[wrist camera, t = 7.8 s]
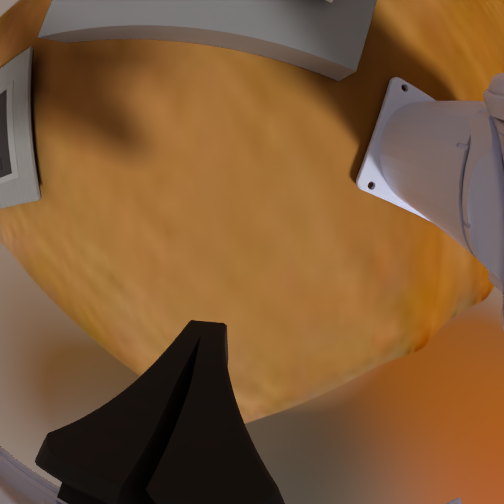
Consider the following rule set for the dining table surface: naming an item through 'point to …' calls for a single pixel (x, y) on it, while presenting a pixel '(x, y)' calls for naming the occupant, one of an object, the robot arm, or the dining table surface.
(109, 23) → the panel
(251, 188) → the dining table surface
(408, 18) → the dining table surface
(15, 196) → the electrical outlet
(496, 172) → the robot arm
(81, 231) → the dining table surface
